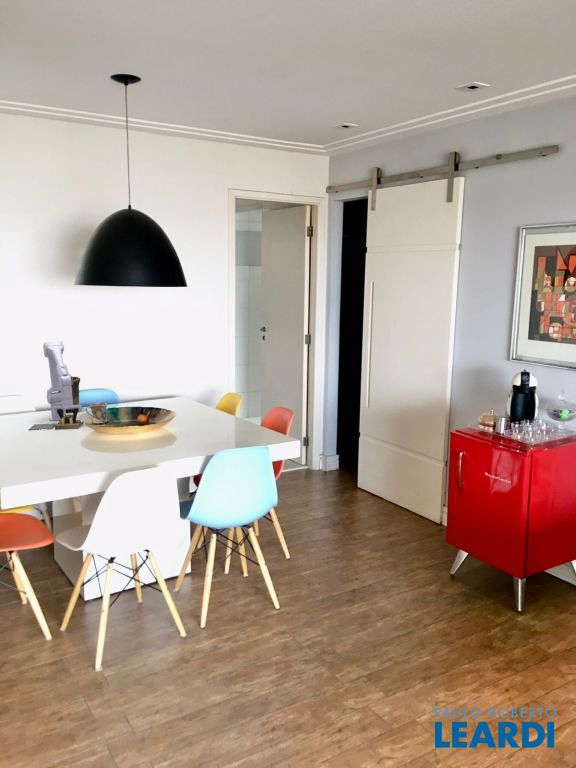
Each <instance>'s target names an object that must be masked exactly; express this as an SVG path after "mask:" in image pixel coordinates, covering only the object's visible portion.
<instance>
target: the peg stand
mask: <svg viewBox="0 0 576 768" xmlns="http://www.w3.org/2000/svg"><path fill="white" fill-rule="evenodd" d="M80 420H81V419H76V422H75V423H73V424H70V417H67V423H66V424H65V425H62V421H61V420H58V422H57V424H56V425H55V427H54V429H55V431H57V430H75V429H76V430H78V429H79V428H80V427H81V426H82V425H83V424H84V422H83V423H82V422H81V421H80Z"/></svg>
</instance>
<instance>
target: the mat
mask: <svg viewBox="0 0 576 768" xmlns="http://www.w3.org/2000/svg"><path fill="white" fill-rule="evenodd" d="M57 423H58V422H57ZM57 423H55V422H54V423H36V424H33V425H32V426H31V427H30V428H28V429H27V431H40V430H41V429H47V430H53V429H55V425H56V424H57ZM39 429H40V430H39ZM41 431H42V430H41Z"/></svg>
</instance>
